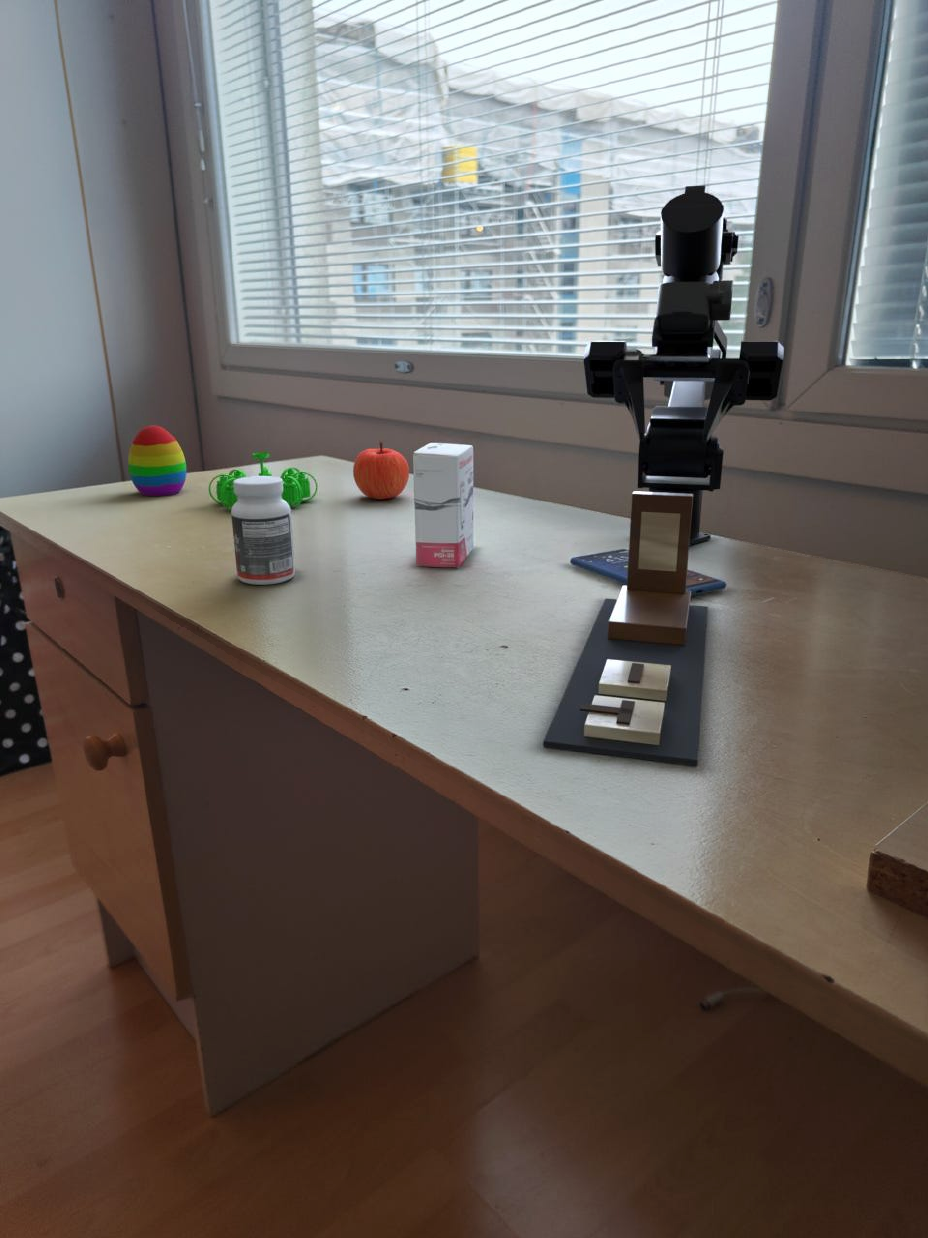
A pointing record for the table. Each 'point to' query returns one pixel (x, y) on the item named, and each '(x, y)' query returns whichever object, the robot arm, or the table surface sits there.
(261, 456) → the chandelier
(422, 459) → the ink box
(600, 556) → the smartphone
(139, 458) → the decorative egg
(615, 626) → the brown picture frame
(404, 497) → the table surface
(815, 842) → the table surface
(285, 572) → the pill bottle
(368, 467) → the apple
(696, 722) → the word mat
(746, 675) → the table surface
